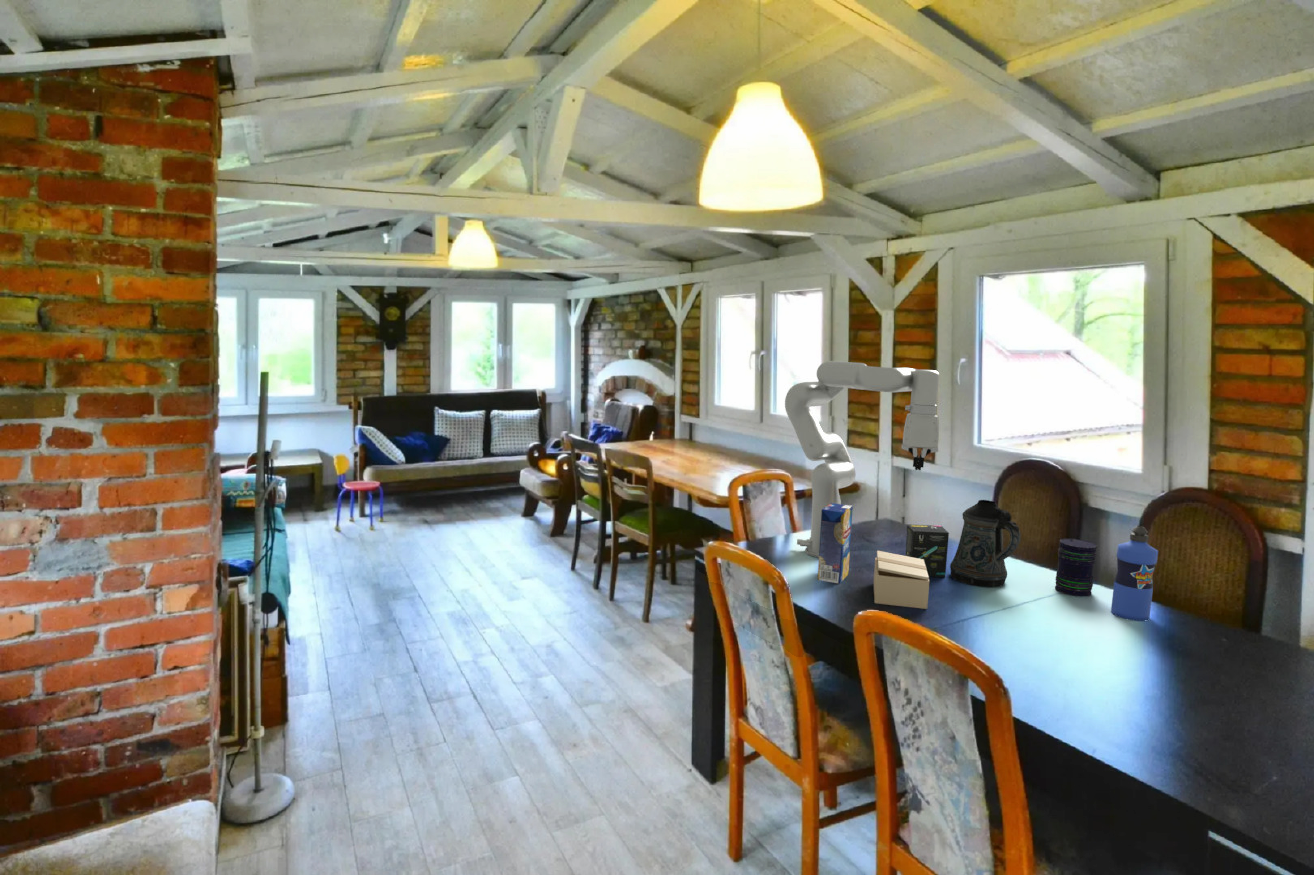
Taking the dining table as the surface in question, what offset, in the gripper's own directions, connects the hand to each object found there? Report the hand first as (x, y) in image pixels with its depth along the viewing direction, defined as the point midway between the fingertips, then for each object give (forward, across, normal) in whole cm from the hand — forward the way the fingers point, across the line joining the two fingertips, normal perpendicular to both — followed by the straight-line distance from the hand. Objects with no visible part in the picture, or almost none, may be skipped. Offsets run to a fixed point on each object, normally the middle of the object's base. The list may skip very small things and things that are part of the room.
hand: (917, 469), depth 231 cm
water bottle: (+34, +58, -14) cm, 68 cm away
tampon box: (+34, +5, +6) cm, 35 cm away
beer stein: (+34, +22, +4) cm, 41 cm away
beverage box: (+34, -22, -10) cm, 42 cm away
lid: (+25, -3, -20) cm, 33 cm away
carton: (+34, -3, -20) cm, 40 cm away
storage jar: (+34, +47, +3) cm, 58 cm away
